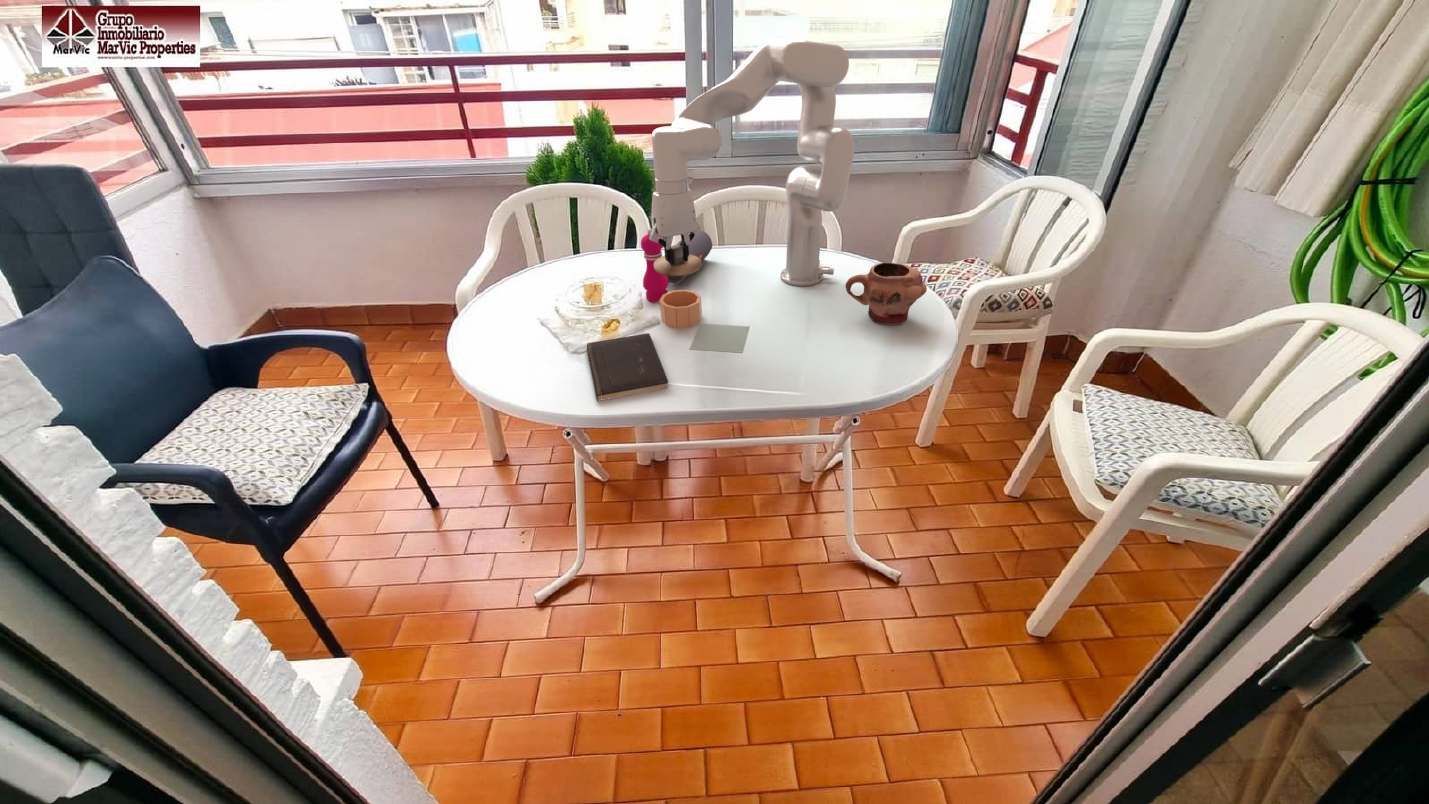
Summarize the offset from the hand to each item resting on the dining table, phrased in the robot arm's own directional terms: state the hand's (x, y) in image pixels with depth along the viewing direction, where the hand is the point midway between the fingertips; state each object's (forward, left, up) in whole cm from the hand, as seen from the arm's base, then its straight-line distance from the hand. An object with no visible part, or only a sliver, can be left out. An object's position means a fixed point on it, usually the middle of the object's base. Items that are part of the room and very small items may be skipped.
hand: (677, 260), depth 144 cm
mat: (-12, +9, -17) cm, 22 cm away
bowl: (0, 0, -17) cm, 17 cm away
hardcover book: (+8, +25, -17) cm, 31 cm away
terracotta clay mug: (-52, -7, -17) cm, 55 cm away
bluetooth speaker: (+5, -30, -17) cm, 35 cm away
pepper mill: (+10, -12, -17) cm, 23 cm away
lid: (0, 0, -1) cm, 1 cm away
